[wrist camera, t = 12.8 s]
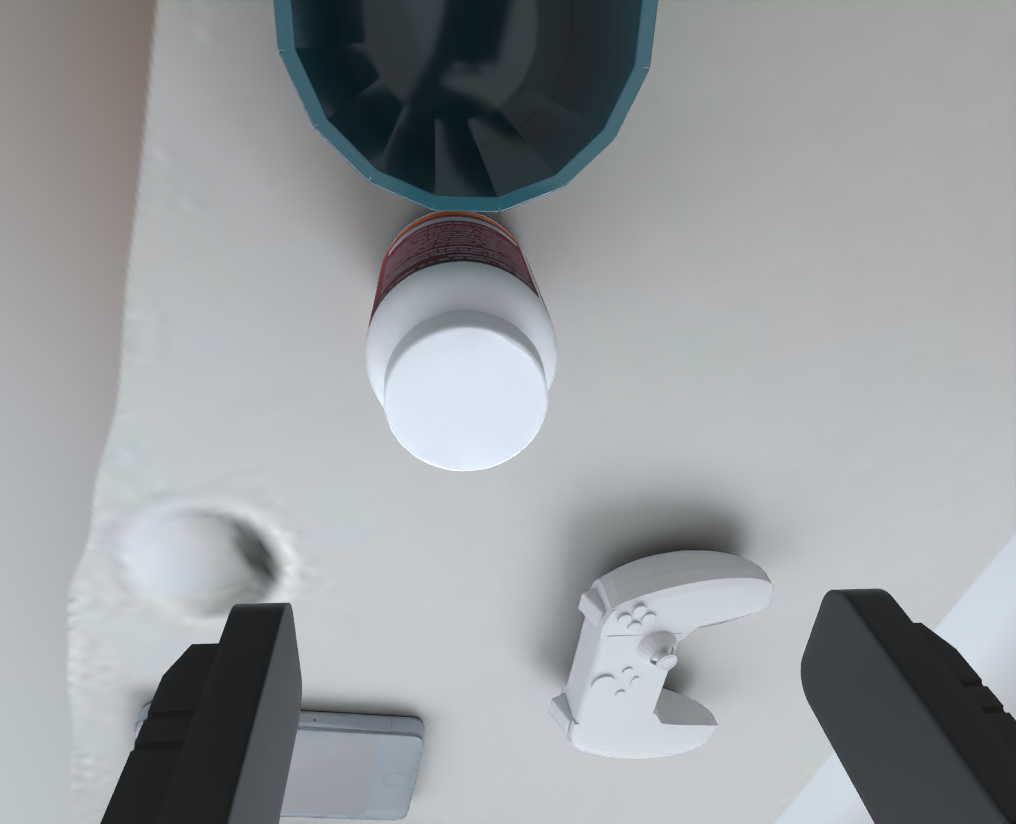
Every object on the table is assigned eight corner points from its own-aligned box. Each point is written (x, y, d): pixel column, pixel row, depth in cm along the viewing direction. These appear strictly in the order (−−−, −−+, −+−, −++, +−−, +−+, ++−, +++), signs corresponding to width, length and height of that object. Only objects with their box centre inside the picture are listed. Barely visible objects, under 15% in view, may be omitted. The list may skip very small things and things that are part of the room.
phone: (407, 802, 45) (406, 822, 44) (144, 792, 43) (136, 813, 41) (426, 717, 42) (426, 736, 41) (139, 700, 39) (131, 720, 38)
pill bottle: (349, 262, 29) (305, 377, 19) (475, 174, 27) (496, 249, 18) (438, 374, 31) (439, 526, 22) (555, 299, 30) (613, 423, 20)
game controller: (715, 766, 41) (560, 798, 38) (678, 704, 45) (533, 729, 42) (799, 578, 35) (621, 598, 32) (747, 524, 39) (583, 536, 35)
